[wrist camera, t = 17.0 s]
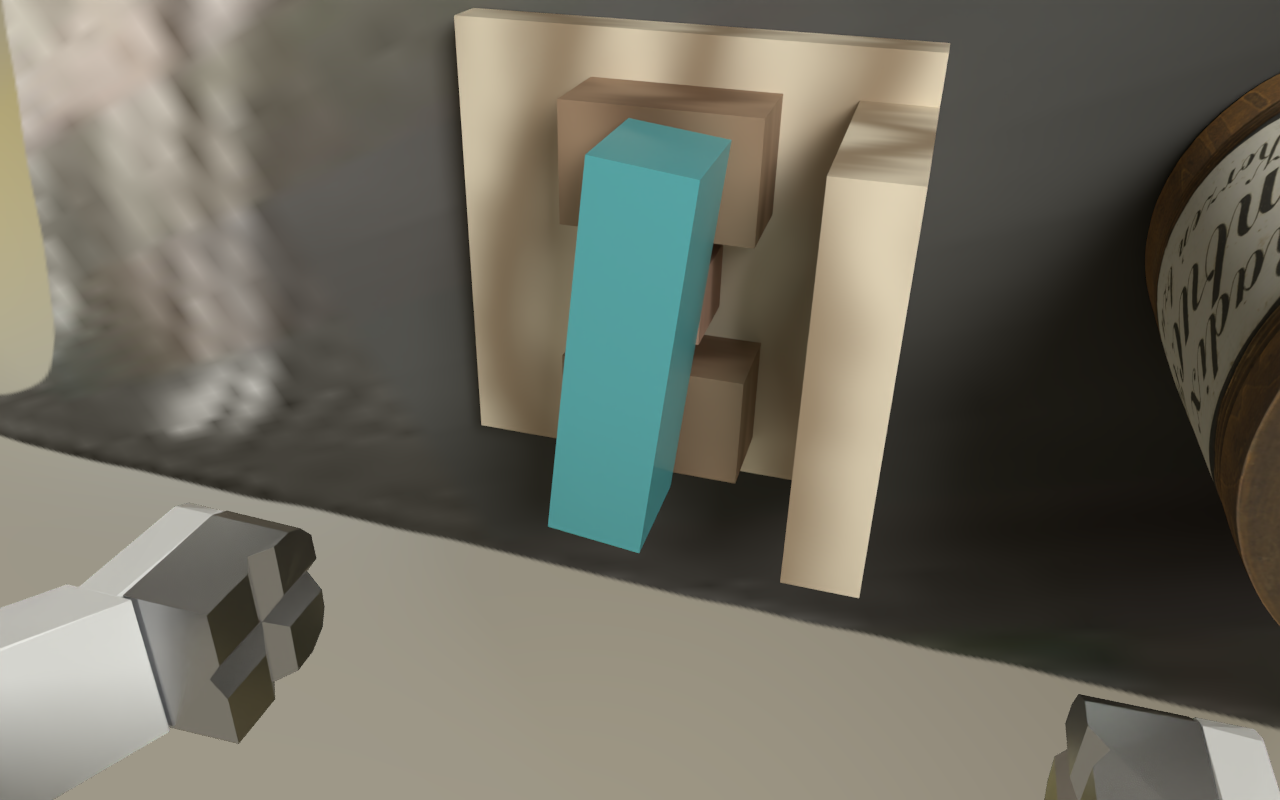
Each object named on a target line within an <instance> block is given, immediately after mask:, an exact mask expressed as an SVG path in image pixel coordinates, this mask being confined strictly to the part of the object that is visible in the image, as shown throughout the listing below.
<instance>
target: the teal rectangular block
mask: <svg viewBox="0 0 1280 800" xmlns="http://www.w3.org/2000/svg"><path fill="white" fill-rule="evenodd" d="M731 141H732V140H730V139H725V138H720V137H715V136H711V135H706V134H701V133H697V132H692V131H687V130H683V129H678V128H673V127H669V126H664V125H659V124H655V123H650V122H645V121H640V120H636V119H631V118H628V119H627V120H626V121H624V122H623V123H622V124H621V125H620V126H618V127H617V128H616V129H615V130H614V131H613V132H611V133H610V134H609V135H608V136H607V137H605V138H604V139H603V140H602V141H601V142H600V143H598V144H597V145H596V146H595V147H594V148H592V149H591V150H590V151H589V152H588V153H587V154H585V161H584V171H583V181H582V191H581V201H580V211H579V221H578V231H577V241H576V251H575V261H574V271H573V281H572V291H571V301H570V311H569V321H568V331H567V341H566V351H565V361H564V371H563V381H562V390H561V400H560V410H559V420H558V430H557V440H556V450H555V460H554V470H553V480H552V490H551V500H550V510H549V520H548V527H551V528H555V529H558V530H561V531H565V532H568V533H572V534H575V535H578V536H582V537H585V538H589V539H592V540H596V541H599V542H602V543H606V544H609V545H613V546H616V547H620V548H623V549H626V550H630V551H633V552H637V553H640V550H641V548H642V546H643V544H644V542H645V540H646V538H647V535H648V533H649V531H650V529H651V527H652V525H653V523H654V521H655V518H656V516H657V514H658V512H659V510H660V508H661V506H662V503H663V501H664V499H665V497H666V495H667V493H668V491H669V489H670V486H671V481H672V475H673V469H674V464H675V458H676V452H677V447H678V441H679V435H680V430H681V424H682V418H683V413H684V407H685V401H686V396H687V390H688V384H689V379H690V373H691V367H692V362H693V356H694V350H695V345H696V339H697V333H698V328H699V322H700V316H701V311H702V305H703V299H704V294H705V288H706V282H707V277H708V271H709V265H710V260H711V254H712V248H713V243H714V237H715V231H716V226H717V220H718V214H719V209H720V203H721V197H722V192H723V186H724V180H725V175H726V169H727V163H728V158H729V152H730V146H731Z"/></svg>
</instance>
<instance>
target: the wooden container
mask: <svg viewBox="0 0 1280 800" xmlns="http://www.w3.org/2000/svg"><path fill="white" fill-rule="evenodd" d="M1145 273H1146V282H1147V288H1148V293H1149V297H1150V301H1151V305H1152V309H1153V312H1154V316H1155V319H1156V323H1157V326H1158V329H1159V333H1160V337H1161V341H1162V344H1163V347H1164V351H1165V354H1166V357H1167V360H1168V363H1169V367H1170V370H1171V373H1172V376H1173V379H1174V381H1175V384H1176V387H1177V390H1178V392H1179V395H1180V397H1181V400H1182V403H1183V405H1184V408H1185V411H1186V413H1187V416H1188V418H1189V421H1190V423H1191V425H1192V428H1193V430H1194V432H1195V435H1196V437H1197V440H1198V443H1199V445H1200V448H1201V450H1202V453H1203V456H1204V459H1205V461H1206V464H1207V467H1208V469H1209V472H1210V474H1211V477H1212V479H1213V482H1214V485H1215V487H1216V489H1217V492H1218V494H1219V497H1220V499H1221V502H1222V504H1223V508H1224V511H1225V514H1226V518H1227V521H1228V524H1229V527H1230V530H1231V533H1232V536H1233V539H1234V542H1235V545H1236V547H1237V550H1238V552H1239V555H1240V557H1241V560H1242V562H1243V565H1244V567H1245V570H1246V572H1247V574H1248V576H1249V578H1250V580H1251V582H1252V584H1253V586H1254V588H1255V590H1256V592H1257V594H1258V596H1259V598H1260V599H1261V601H1262V603H1263V604H1264V606H1265V607H1266V609H1267V610H1268V612H1269V613H1270V614H1271V616H1272V617H1273V619H1274V620H1275V621H1276V622H1277V623H1278V625H1279V626H1280V74H1278V75H1276V76H1274V77H1272V78H1270V79H1269V80H1267V81H1265V82H1264V83H1262V84H1260V85H1259V86H1257V87H1256V88H1254V89H1252V90H1251V91H1249V92H1248V93H1247V94H1245V95H1244V96H1243V97H1241V98H1240V99H1239V100H1237V101H1236V102H1235V103H1234V104H1232V105H1231V106H1230V107H1229V108H1227V109H1226V110H1225V111H1224V112H1223V113H1221V114H1220V115H1219V116H1218V117H1217V118H1216V119H1215V120H1214V121H1213V122H1212V123H1211V124H1210V125H1209V126H1208V127H1207V128H1206V129H1205V130H1204V131H1203V132H1202V133H1201V134H1200V135H1199V136H1198V137H1197V138H1196V139H1195V141H1194V142H1193V143H1192V145H1191V146H1190V147H1189V148H1188V150H1187V151H1186V152H1185V153H1184V155H1183V156H1182V157H1181V158H1180V160H1179V161H1178V163H1177V164H1176V166H1175V168H1174V169H1173V171H1172V172H1171V174H1170V176H1169V177H1168V179H1167V181H1166V183H1165V185H1164V187H1163V189H1162V191H1161V193H1160V195H1159V198H1158V200H1157V202H1156V205H1155V208H1154V211H1153V214H1152V218H1151V222H1150V227H1149V231H1148V236H1147V243H1146V251H1145Z"/></svg>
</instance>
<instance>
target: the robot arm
mask: <svg viewBox="0 0 1280 800" xmlns="http://www.w3.org/2000/svg"><path fill="white" fill-rule="evenodd" d="M315 560H316V555H315V550H314V546H313V542H312V537H311V535H310V534H309V533H307V532H305V531H304V530H302V529H300V528H296V527H292V526H288V525H284V524H280V523H276V522H271V521H267V520H263V519H259V518H255V517H250V516H247V515H242V514H238V513H234V512H230V511H221V510H217V509H213V508H209V507H205V506H201V505H197V504H193V503H186V504H182V505H178V506H175V507H174V508H172V509H171V510H170V511H169V512H167V513H166V514H165V515H164V516H163V517H161V519H159V520H158V521H157V522H155V524H153V525H152V526H151V527H150V528H148V529H147V530H146V531H145V532H144V533H142V534H141V535H140V536H139V537H138V538H137V539H135V540H134V541H133V542H132V543H130V545H128V546H127V547H126V548H125V549H123V550H122V551H121V552H120V553H119V554H117V555H116V556H115V557H114V558H113V559H111V560H110V561H109V562H108V563H107V564H106V565H104V566H103V567H102V568H101V569H100V570H98V571H97V572H96V573H95V574H94V575H92V576H91V577H90V578H89V579H88V580H87V581H85V582H84V583H83V584H82V585H80V586H79V587H76V586H72V585H68V584H66V585H64V586H61V587H58V588H55V589H53V590H50V591H47V592H44V593H41V594H38V595H36V596H32V597H30V598H27V599H24V600H21V601H18V602H16V603H13V604H10V605H7V606H4V607H1V608H0V800H53V799H55V798H57V797H59V796H60V795H62V794H64V793H65V792H67V791H69V790H71V789H72V788H74V787H76V786H77V785H79V784H81V783H83V782H84V781H86V780H88V779H89V778H91V777H93V776H95V775H96V774H98V773H100V772H101V771H103V770H105V769H107V768H108V767H110V766H112V765H113V764H115V763H117V762H118V761H120V760H122V759H124V758H125V757H127V756H129V755H131V754H132V753H134V752H136V751H137V750H139V749H141V748H143V747H144V746H146V745H148V744H149V743H151V742H153V741H155V740H156V739H158V738H160V737H161V736H163V735H165V734H167V733H168V732H169V731H170V729H169V727H170V728H175V729H179V730H183V731H187V732H192V733H195V734H200V735H204V736H208V737H213V738H217V739H221V740H225V741H229V742H233V743H238V744H239V743H240V741H241V740H242V739H243V738H244V737H245V736H246V734H247V733H248V732H249V731H250V729H251V728H252V727H253V726H254V724H255V723H256V722H257V721H258V720H259V718H260V717H261V716H262V715H263V713H264V712H265V711H266V710H267V708H268V707H269V706H270V705H271V703H272V702H273V701H274V700H275V687H274V686H275V684H274V682H275V681H277V680H279V679H281V678H283V677H285V676H287V675H289V674H291V673H293V672H296V671H298V670H299V669H300V667H301V666H302V665H303V663H304V662H305V661H306V659H307V658H308V657H309V656H310V654H311V653H312V651H313V650H314V647H315V645H316V642H317V640H318V637H319V634H320V632H321V630H322V627H323V617H324V602H323V595H322V589H321V588H320V587H319V586H318V584H317V583H316V582H315V581H314V579H313V578H312V577H311V576H310V574H309V573H308V572H307V570H308V569H309V568H310V566H311V565H312V564H313V562H314V561H315ZM1066 737H1067V750H1066V751H1063V752H1062V753H1060V754H1058V755H1056V756H1055V757H1054V760H1053V764H1052V767H1051V771H1050V774H1049V778H1048V781H1047V787H1046V794H1045V799H1044V800H1280V790H1279V787H1278V784H1277V781H1276V778H1275V774H1274V771H1273V768H1272V765H1271V762H1270V758H1269V755H1268V752H1267V749H1266V746H1265V743H1264V739H1263V738H1262V737H1261V736H1260V735H1259V733H1258V732H1257V731H1256V730H1255V729H1252V728H1247V727H1242V726H1236V725H1231V724H1226V723H1221V722H1216V721H1211V720H1206V719H1200V718H1196V717H1195V718H1193V719H1192V718H1190V717H1187V716H1182V715H1178V714H1173V713H1168V712H1163V711H1158V710H1153V709H1148V708H1144V707H1139V706H1134V705H1129V704H1124V703H1119V702H1114V701H1110V700H1105V699H1100V698H1095V697H1090V696H1085V695H1080V694H1078V696H1077V697H1076V699H1075V700H1074V702H1073V703H1072V705H1071V708H1070V711H1069V714H1068V717H1067V720H1066Z"/></svg>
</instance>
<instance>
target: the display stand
mask: <svg viewBox="0 0 1280 800" xmlns="http://www.w3.org/2000/svg"><path fill="white" fill-rule="evenodd" d="M454 22H455V37H456V52H457V67H458V82H459V97H460V112H461V126H462V141H463V156H464V171H465V186H466V201H467V216H468V231H469V246H470V261H471V275H472V290H473V305H474V320H475V335H476V350H477V365H478V380H479V395H480V410H481V424H482V425H484V426H490V427H495V428H501V429H507V430H512V431H518V432H523V433H529V434H535V435H540V436H546V437H552V438H557V430H558V420H559V410H560V400H561V390H562V381H563V371H564V361H565V351H566V341H567V331H568V321H569V311H570V301H571V291H572V281H573V271H574V261H575V251H576V241H577V231H578V221H579V211H580V201H581V191H582V181H583V171H584V161H585V154H587V153H588V152H589V151H590V150H591V149H592V148H594V147H595V146H596V145H597V144H598V143H600V142H601V141H602V140H603V139H604V138H605V137H607V136H608V135H609V134H610V133H611V132H613V131H614V130H615V129H616V128H617V127H618V126H620V125H621V124H622V123H623V122H624V121H626V120H627V119H628V118H631V119H636V120H640V121H645V122H650V123H655V124H659V125H664V126H669V127H673V128H678V129H683V130H687V131H692V132H697V133H701V134H706V135H711V136H715V137H720V138H725V139H730V140H732V141H731V146H730V152H729V158H728V163H727V169H726V175H725V180H724V186H723V192H722V197H721V203H720V209H719V214H718V220H717V226H716V231H715V237H714V243H713V248H712V254H711V260H710V265H709V271H708V277H707V282H706V288H705V294H704V299H703V305H702V311H701V316H700V322H699V328H698V333H697V339H696V345H695V350H694V356H693V362H692V367H691V373H690V379H689V384H688V390H687V396H686V401H685V407H684V413H683V418H682V424H681V430H680V435H679V441H678V447H677V452H676V458H675V464H674V469H673V472H674V473H680V474H685V475H691V476H696V477H702V478H708V479H713V480H719V481H724V482H730V483H736V480H737V478H738V475H739V472H740V471H743V472H749V473H755V474H760V475H766V476H772V477H777V478H783V479H788V480H792V484H791V493H790V502H789V510H788V519H787V528H786V536H785V545H784V554H783V562H782V571H781V580H780V582H781V583H786V584H791V585H796V586H801V587H806V588H811V589H816V590H821V591H826V592H831V593H836V594H841V595H846V596H851V597H856V598H859V595H860V589H861V583H862V577H863V571H864V565H865V559H866V553H867V547H868V541H869V535H870V529H871V523H872V517H873V511H874V505H875V499H876V493H877V487H878V481H879V475H880V469H881V464H882V458H883V452H884V446H885V440H886V434H887V428H888V422H889V416H890V410H891V404H892V398H893V392H894V386H895V380H896V374H897V368H898V362H899V356H900V350H901V344H902V338H903V332H904V326H905V320H906V314H907V308H908V302H909V296H910V290H911V284H912V278H913V272H914V266H915V260H916V254H917V248H918V242H919V236H920V230H921V224H922V218H923V212H924V206H925V200H926V194H927V188H928V181H929V175H930V168H931V162H932V155H933V149H934V142H935V136H936V129H937V123H938V116H939V110H940V103H941V97H942V91H943V85H944V79H945V73H946V67H947V61H948V55H949V49H950V43H941V42H928V41H914V40H901V39H887V38H874V37H860V36H847V35H833V34H820V33H806V32H793V31H779V30H766V29H752V28H739V27H725V26H712V25H698V24H685V23H671V22H658V21H644V20H631V19H617V18H604V17H590V16H577V15H563V14H550V13H536V12H523V11H509V10H496V9H482V8H472V9H470V10H467V11H464V12H462V13H459V14H456V15H454Z"/></svg>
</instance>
